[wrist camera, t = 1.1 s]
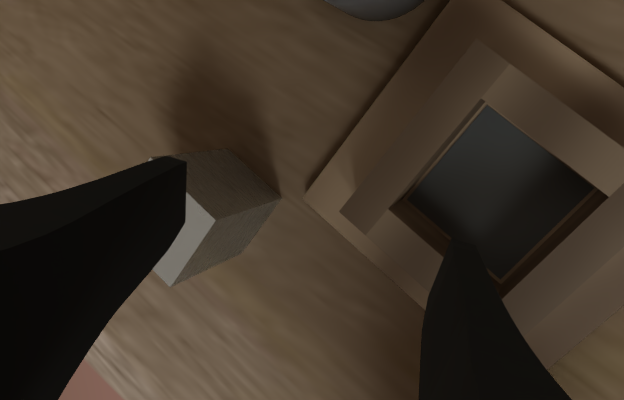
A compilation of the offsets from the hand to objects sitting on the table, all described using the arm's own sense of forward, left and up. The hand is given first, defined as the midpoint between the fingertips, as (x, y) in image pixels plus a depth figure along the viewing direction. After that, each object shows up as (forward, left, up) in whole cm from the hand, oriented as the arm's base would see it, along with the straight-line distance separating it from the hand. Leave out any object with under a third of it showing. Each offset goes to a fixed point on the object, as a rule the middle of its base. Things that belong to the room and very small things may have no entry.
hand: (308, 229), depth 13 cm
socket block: (-3, -2, -11) cm, 12 cm away
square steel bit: (+6, +7, -11) cm, 14 cm away
